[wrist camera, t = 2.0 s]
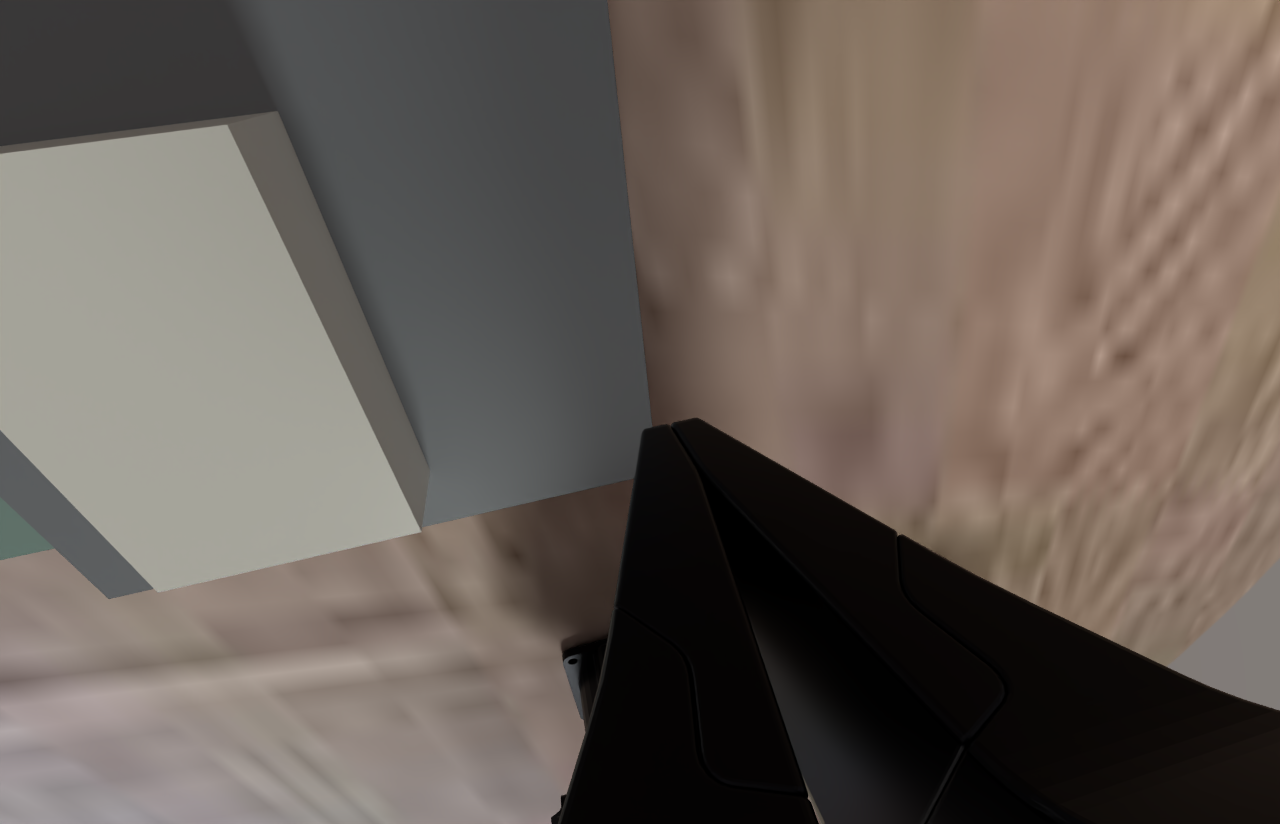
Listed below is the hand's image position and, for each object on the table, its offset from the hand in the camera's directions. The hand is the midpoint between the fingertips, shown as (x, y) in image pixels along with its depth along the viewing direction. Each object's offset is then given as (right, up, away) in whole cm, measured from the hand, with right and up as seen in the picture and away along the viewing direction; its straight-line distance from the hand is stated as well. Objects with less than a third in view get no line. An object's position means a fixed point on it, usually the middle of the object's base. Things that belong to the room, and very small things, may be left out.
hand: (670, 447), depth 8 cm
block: (-10, +2, +4) cm, 11 cm away
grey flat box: (-9, +4, +8) cm, 13 cm away
